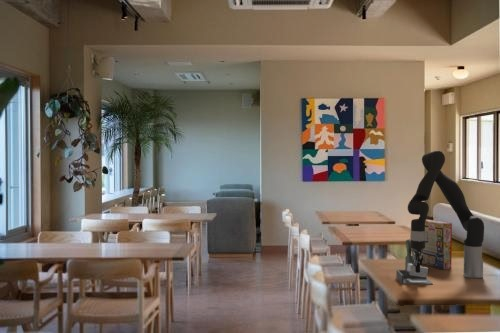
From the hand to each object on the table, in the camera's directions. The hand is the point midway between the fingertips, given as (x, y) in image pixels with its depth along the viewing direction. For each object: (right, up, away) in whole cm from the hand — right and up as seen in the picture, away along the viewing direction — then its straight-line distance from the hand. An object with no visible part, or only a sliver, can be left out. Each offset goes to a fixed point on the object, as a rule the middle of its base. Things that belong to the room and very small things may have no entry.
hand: (417, 271), depth 285 cm
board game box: (+24, -5, +41) cm, 48 cm away
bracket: (+6, -5, +28) cm, 29 cm away
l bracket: (0, -2, +3) cm, 3 cm away
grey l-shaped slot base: (-1, -6, +3) cm, 7 cm away
